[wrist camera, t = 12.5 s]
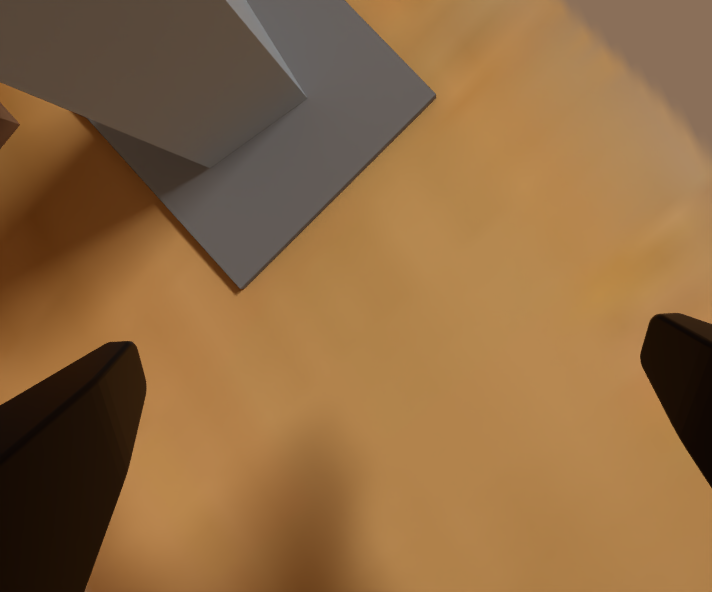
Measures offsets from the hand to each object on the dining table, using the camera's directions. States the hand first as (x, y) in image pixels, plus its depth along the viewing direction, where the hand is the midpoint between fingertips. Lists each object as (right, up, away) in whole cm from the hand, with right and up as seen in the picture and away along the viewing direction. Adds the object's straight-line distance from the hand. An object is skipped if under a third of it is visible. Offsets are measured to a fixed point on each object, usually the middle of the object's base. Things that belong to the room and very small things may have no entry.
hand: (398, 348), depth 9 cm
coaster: (-5, +9, +11) cm, 15 cm away
